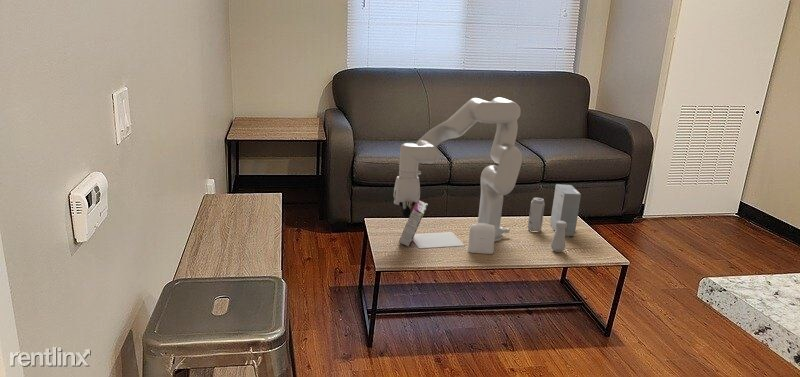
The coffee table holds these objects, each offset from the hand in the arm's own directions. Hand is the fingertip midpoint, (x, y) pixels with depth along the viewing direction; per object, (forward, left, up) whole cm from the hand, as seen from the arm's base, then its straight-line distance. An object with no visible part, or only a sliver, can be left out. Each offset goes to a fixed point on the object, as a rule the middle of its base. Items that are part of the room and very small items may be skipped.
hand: (405, 217), depth 232 cm
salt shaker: (-61, +19, -11) cm, 65 cm away
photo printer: (-28, +15, -11) cm, 34 cm away
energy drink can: (-63, -4, -11) cm, 64 cm away
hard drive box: (-76, -2, -11) cm, 77 cm away
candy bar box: (-1, 0, -10) cm, 10 cm away
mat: (-14, +1, -11) cm, 18 cm away
